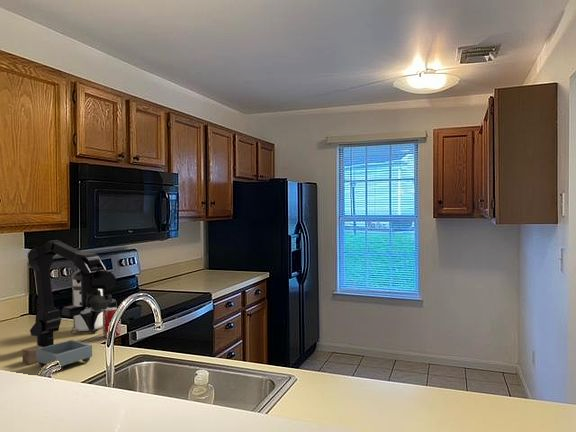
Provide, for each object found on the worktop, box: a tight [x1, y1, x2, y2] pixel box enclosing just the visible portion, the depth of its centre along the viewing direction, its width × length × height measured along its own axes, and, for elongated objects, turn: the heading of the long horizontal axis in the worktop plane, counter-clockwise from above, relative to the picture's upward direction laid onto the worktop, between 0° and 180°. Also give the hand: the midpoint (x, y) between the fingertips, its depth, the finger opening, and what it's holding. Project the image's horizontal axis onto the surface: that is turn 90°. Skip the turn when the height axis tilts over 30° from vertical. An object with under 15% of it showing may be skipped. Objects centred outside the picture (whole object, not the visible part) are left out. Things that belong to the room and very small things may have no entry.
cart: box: [36, 339, 93, 372], centre depth 156 cm, size 13×13×6 cm
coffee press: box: [70, 269, 105, 335], centre depth 200 cm, size 17×16×30 cm
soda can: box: [102, 306, 122, 339], centre depth 190 cm, size 7×7×12 cm
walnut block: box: [21, 344, 43, 366], centre depth 160 cm, size 5×5×5 cm
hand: (90, 330), depth 165 cm, fingers closed
